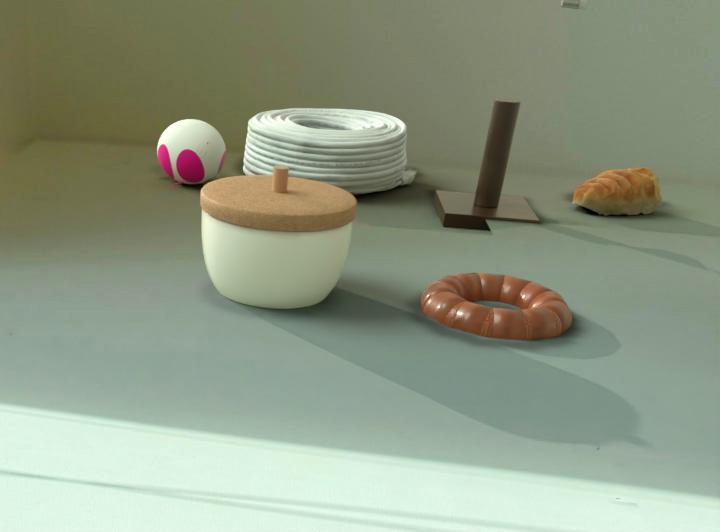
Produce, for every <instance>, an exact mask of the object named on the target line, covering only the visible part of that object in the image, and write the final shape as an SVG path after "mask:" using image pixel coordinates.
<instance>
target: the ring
mask: <svg viewBox="0 0 720 532" xmlns="http://www.w3.org/2000/svg"><path fill="white" fill-rule="evenodd" d="M478 301H486V302H498V303H502V304H507V305H510V306H514V307H517V308H518V309H512V308H501V307H500V308H499V307H492V306H488V305H484V304H480V303H476V302H478ZM420 305H421V309H422V313H424V315H426V316H428V317H429V318H431V319H433V320H435V321H436V322H438V323H440V325H443V326H445V327H448V328H450V329H454V330H457V331H461V332H465V333H469V334H471V335H476V336H479V337H484V338H491V339H501V340H513V341H514V340H515V341H536V340H541V339H549V338H554V337H558V336H561V335H562V334H564V332H565V331H567V330H568V329H569V328H570V327H571V326H572V322H573V314H572V311H571V308H570V307H569V305H568V304H567V302H566V300H565V299H564V297H563V296H562V295H561V294H560V293H558V292H557V291H555V290H553V289H551V288H549V287H547V286H545V285H542V284H540V283H538V282H536V281H533V280H528V279H524V278H521V277H516V276H513V275H512V276H511V275H507V274H501V273H487V272H467V273H456V274H449V275H446V276H443V277H441V278H440V279H437V280H436V281H435V282H433V283H431V284H429V285H428V286H427V287H426V288H425V289H424V291H423V292H422V294H421V297H420Z"/></svg>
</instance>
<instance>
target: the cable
mask: <svg viewBox="0 0 720 532" xmlns="http://www.w3.org/2000/svg"><path fill="white" fill-rule="evenodd" d="M407 132H408V128H407V124H406V123H405V122H404V121H403V120H401V119H400V118H398V117H396V116H393V115H391V114H387V113H384V112H379V111H374V110H373V111H372V110H364V109H351V108H349V109H348V108H347V109H346V108H320V107H319V108H316V107H315V108H314V107H306V108H305V107H294V108H293V107H291V108H283V109H273V110H272V109H271V110H267V111H261V112H259V113H257V114H255V115H254V116H252V117H251V118H249V120H248V121H247V133H246V139H245V145H244V154H243V155H244V156H243V160H242V161H243V166H242V171H243V173H244V175H272V176H273V169H274V166H286V167H289V172H288V177H295V178H303V179H309V180H314V181H319V182H323V183H327V184H330V185H333V186H336V187H339V188H341V189H343V190H345V191H347V192H349V193H351V194H352V195H353V196H356V195H366V194H372V193H376V192H377V193H378V192H385V191H389V190H392V189H394V188H396V187H399V186H400V187H401V186H404V185H411V184H412V182H414V180H415V178H416V176H417V174H418V170H417V169H414V168H413V166H412V165H410V164H407V163H408V160H407V138H408V134H407Z"/></svg>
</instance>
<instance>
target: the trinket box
mask: <svg viewBox="0 0 720 532" xmlns="http://www.w3.org/2000/svg"><path fill="white" fill-rule="evenodd" d="M288 172H289V167H286V166H274V169H273V176H272V175H246V174H244V175H235V176H227V177H222V178H217V179H214V180H211V181H208V182H206V184H204V185H203V187H201V189H200V194H199V195H200V197H199V200H200V201H199V202H200V203H199V205H200V207H201V231H200V232H201V245H202V253H203V259H204V265H205V267H206V270H207V273H208V276H209V278H210V280H211V282H212V284H213V286H214V287H215V289H216V290H217V291H218V293H220V295H222V296H223V297H224V298H227V299H229V300H230V301H233V302H236V303H239V304H243V305H246V306H250V307H256V308H264V309H275V310H276V309H277V310H281V309H282V310H284V309H285V310H287V309H289V310H290V309H300V308H307V307H312V306H314V305H317V304H319V303H321V302H322V301H324V300H325V299H326V298H327V297H328V296H329V295H330V294H331V292H332V291H333V290H334V288H335V287H336V285H337V283H338V281H339V280H340V278H341V276H342V274H343V272H344V271H343V270H344V268H345V266H346V265H345V264H346V262H347V258H348V254H349V250H350V245H351V239H352V233H353V226H354V220H355V219H356V215H357V207H358V201H357V198H356V197H355V195H352V194H351V193H349V192H347V191H345V190H343V189H341V188H339V187H336V186H333V185H330V184H327V183H323V182H319V181H314V180H309V179H303V178H295V177H288Z"/></svg>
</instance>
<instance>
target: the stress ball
mask: <svg viewBox="0 0 720 532" xmlns="http://www.w3.org/2000/svg"><path fill="white" fill-rule="evenodd" d="M158 136H159V139H158V142H157V148H156V155H157V160H158V162H159V165H160V167H161V168H162V170H163V172H164V173H166V175H167V176H169V177H170V178H171V179H173V180H175V181H177V182H176V183H173V184H170V185H167V186H166V188H169V187H172V186H177V185H181V184H185V185H201V184H204V183H208V182H210V181H212V179H214V178H215V177H217V175H218V174H219V173H220V172H221V170H222V169H223V167H224V165H225V162H226V156H227V149H226V144H225V140H224V139H223V137H222V135H221V134H220V132H219V131H218V130H217V129H216V128H215V127H214V126H213V125H211V124H209V123H208V122H206V121H203V120H201V119H194V118H187V119H180V120H178V121H176V122H174V123H172V124H170V125H169V126H167V128H166V129H165V130H164V131H163V132H162V133H161V134H158Z"/></svg>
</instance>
